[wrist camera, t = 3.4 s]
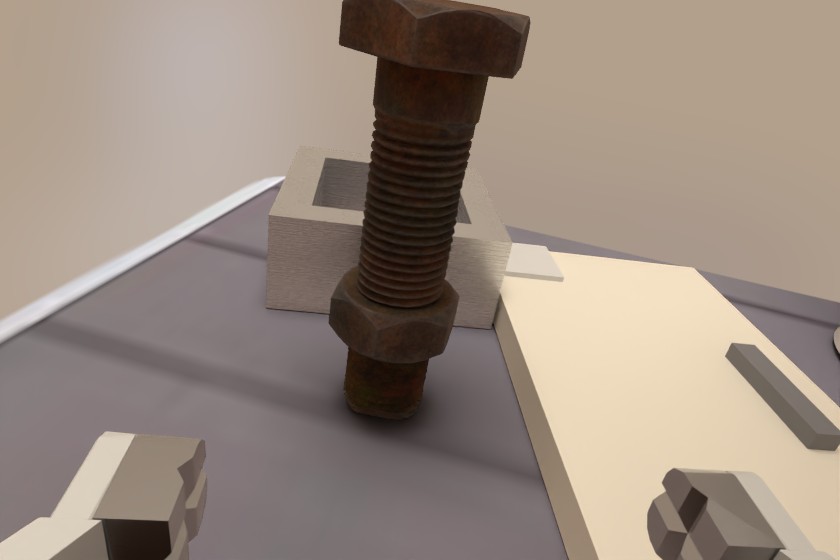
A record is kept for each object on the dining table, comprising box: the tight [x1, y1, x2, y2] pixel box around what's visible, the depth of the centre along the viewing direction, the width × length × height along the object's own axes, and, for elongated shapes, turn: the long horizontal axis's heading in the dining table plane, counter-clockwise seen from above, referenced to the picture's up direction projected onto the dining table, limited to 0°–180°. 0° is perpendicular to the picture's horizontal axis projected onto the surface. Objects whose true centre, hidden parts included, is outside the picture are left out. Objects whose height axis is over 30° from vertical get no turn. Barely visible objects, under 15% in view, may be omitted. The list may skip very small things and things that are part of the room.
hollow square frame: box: [266, 146, 512, 329], centre depth 33 cm, size 12×12×5 cm
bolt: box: [329, 0, 530, 420], centre depth 20 cm, size 6×5×15 cm
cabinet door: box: [493, 243, 840, 560], centre depth 26 cm, size 14×22×3 cm, turn 3°
